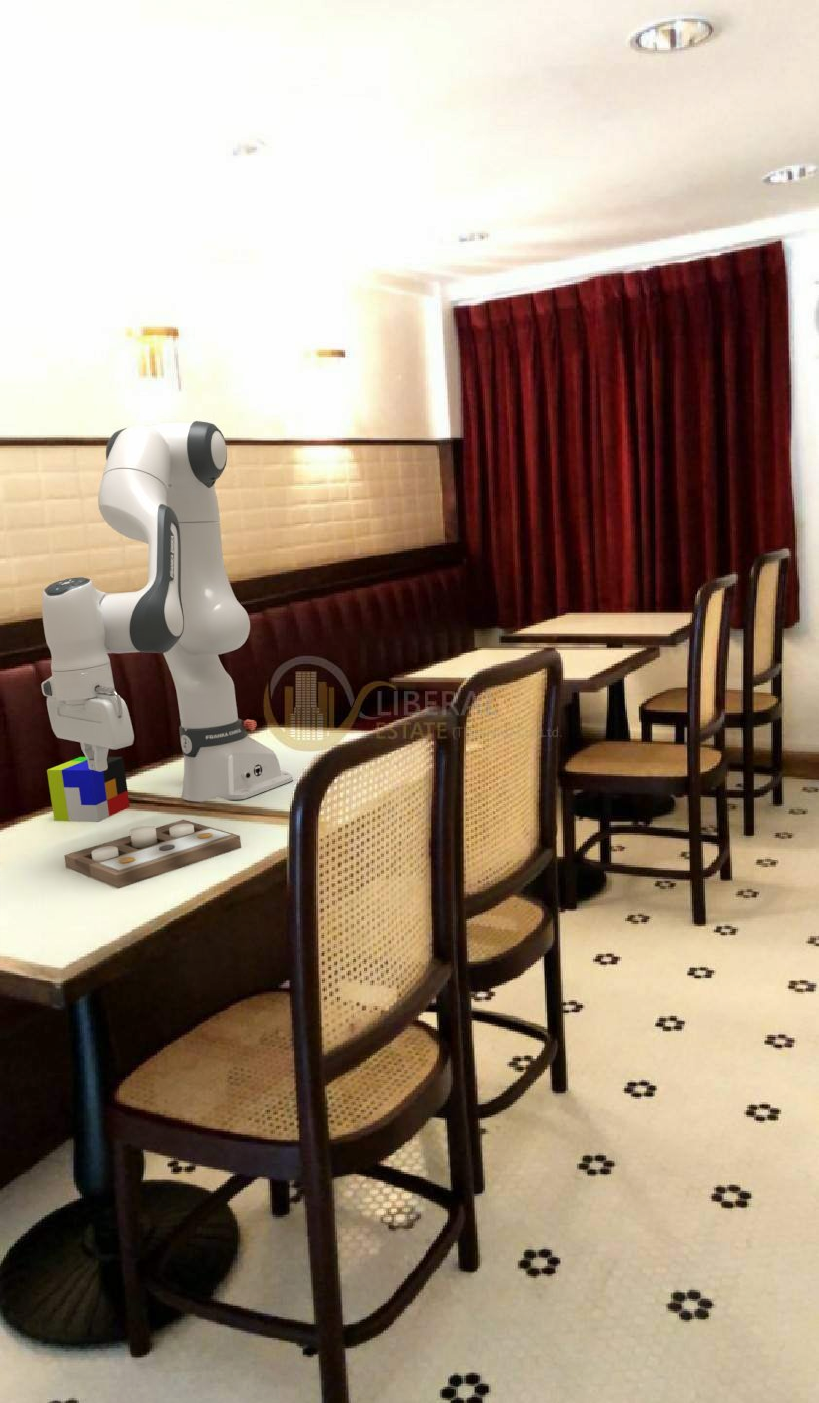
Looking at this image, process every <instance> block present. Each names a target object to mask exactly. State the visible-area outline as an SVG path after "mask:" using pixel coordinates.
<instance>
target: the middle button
mask: <svg viewBox="0 0 819 1403" xmlns="http://www.w3.org/2000/svg"><path fill="white" fill-rule="evenodd" d="M156 828H157V827H156V826H155V825H141V826H137V827H134V828H132V829H130V830H129V833H130V835H131V841H132V847H134V848H145V847H149V846H152V845H155V844H157V835H156Z"/></svg>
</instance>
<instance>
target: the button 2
mask: <svg viewBox="0 0 819 1403" xmlns="http://www.w3.org/2000/svg"><path fill="white" fill-rule="evenodd" d="M169 831H170V836H173V837H176V838H178V837H181V836H184V835H187V834H191V833H194V825H193V824H179V825H175V826H172V827H170V828H169Z"/></svg>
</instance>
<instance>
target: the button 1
mask: <svg viewBox="0 0 819 1403" xmlns="http://www.w3.org/2000/svg"><path fill="white" fill-rule="evenodd" d="M91 853H92V860H94V861H97V862H100V861H103V860H107V859H110V858H113V857H116V856H119V855H118V848H117V847H114V846H108V847H101V848H98V849H95V850H93V851H92V852H91Z"/></svg>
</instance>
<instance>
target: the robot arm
mask: <svg viewBox="0 0 819 1403" xmlns="http://www.w3.org/2000/svg"><path fill="white" fill-rule="evenodd" d="M227 459H228V450H227V442H226V439H225V437H224V435H223V433H222V431H221V430H220V429H219V427H218V426H217V425H216V424H214V423H213V422H212V423H211V422H208V421H207V422H206V421H200V420H194V421H193V422H190V421H187V422H186V421H165V422H159V423H154V424H148V425H132V426H130V427H124V428H121V429H120V430H116V431H115V432H114V433H113V434H112V435H111V437H110V438H109V440H108V441H107V444H106V449H105V460H106V463H105V465H104V469H103V474H102V476H101V481H100V485H99V490H98V496H97V497H98V498H97V499H98V500H97V502H98V503H97V504H98V510H99V512H100V514H101V516H102V518H103V521H105V522H106V524H107V525H108V526H109V527H111V529H113V530H114V531H116V532H117V533H119V534H121V535H122V536H124V537H126V538H129V539H132V540H134V541H137V542H141V543H145V544H147V545H148V574H147V575H148V577H147V579H148V580H147V584H146V585H145V586H144V587H142V589H139V590H137V591H129V592H128V591H126V592H115V593H113V592H112V593H110V592H109V593H108V592H104V591H101V590H99V589H98V588H95V586H94V583H93V581H92V579H90V578H88V577H83V576H82V577H81V576H79V577H77V576H76V577H70V578H65V579H62V580H58V581H55V582H53V583H50V584H49V585H48V586H47V587H46V588H45V589H43V593H42V598H41V599H42V601H41V612H42V613H41V614H42V623H43V629H44V630H43V631H44V636H45V640H46V645H47V647H48V649H49V651H50V655H51V662H50V669H51V671H50V672H51V676H50V677H49V678H47V679H46V680H44V681H43V682H42V683H41V684H40V685H41V691H42V694H43V696H45V697H46V706H47V712H48V717H49V721H50V725H51V730H52V731H53V734H54V735H55V737H56V738H57V739H63V740H68V741H71V742H78V743H80V747H81V751H82V752H83V754H84V757H86V759H87V761H88V766H89V769H91V770H95V771H99V772H101V771H104V770H107V768H108V765H107V757H108V754H109V750H118V749H122V748H123V749H124V748H126V747H129V746H132V745H133V744H134V741H135V734H134V729H133V725H132V720H131V716H130V712H129V709H128V705H127V704H126V701H125V700H124V699H123V698H122V697H121V696H120V695H119V694H118V693H117V691H116V689H115V683H114V678H113V671H112V666H111V665H112V664H111V660H110V657H109V655H108V654H130V653H147V654H148V653H150V654H163V656H164V658H165V661H166V663H167V666H168V669H169V671H170V673H171V678H172V680H173V683H174V687H175V690H176V698H177V704H178V705H177V706H178V711H179V719H180V726H179V727H178V728H179V738H180V746H181V750H182V751H181V752H182V754H183V782H182V785H183V786H182V792H181V798H182V799H183V800H185V801H190V802H200V803H201V802H207V801H210V800H213V799H216V798H219V799H223V800H228V801H229V800H245V799H246V800H247V799H248V798H251V797H253V796H255V795H258V794H262V793H263V792H266V791H270V790H272V789H274V788H278V787H280V786H282V785H285V784H288V783H290V782H292V781H294V780H293V779H294V778H293V774H291V773H289V772H288V771H285V770H281V767H280V762H279V759H278V757H277V756H278V755H277V754H276V752H274V750H273V749H271V748H270V747H268V746H266V745H264V744H263V743H261V742H259V741H257V740H256V739H254V738H252V737H251V736H249V735H248V731H247V730H250V731H254V730H256V727H257V721H255V720H254V719H246V720H243V719H241V718H239V717H238V716H239V715H238V707H237V700H236V699H237V698H236V689H235V684H234V681H233V679H232V677H231V675H230V674H229V673H228V672H227V671H226V670H225V668H224V666H223V663H222V662H221V660H220V657H219V655H222V654H227V653H230V652H233V651H235V650H238V649H239V648H241V647H242V646H243V645H244V644H245V643H246V641H247V639H248V638H249V635H250V631H251V621H250V617H249V614H248V612H247V610H246V609H245V608H244V607H243V606H242V605H241V603H240V602H239V600H237V597H236V596H235V593H234V591H233V589H232V586H231V583H230V580H229V577H228V574H227V571H226V568H225V561H224V554H223V544H222V543H223V541H222V531H221V518H220V510H219V509H220V508H219V502H218V496H217V492H216V487H215V484H216V481H217V480H218V479H219V478H220V477H221V476H222V474H223V472H224V471H225V469H226V467H227V462H228V461H227Z"/></svg>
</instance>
